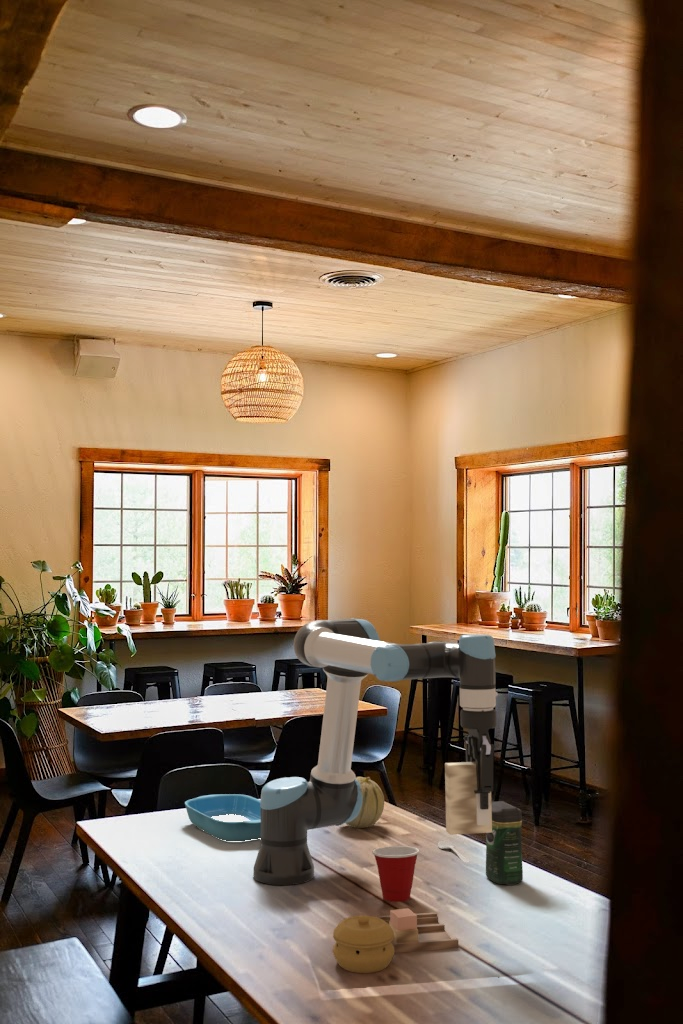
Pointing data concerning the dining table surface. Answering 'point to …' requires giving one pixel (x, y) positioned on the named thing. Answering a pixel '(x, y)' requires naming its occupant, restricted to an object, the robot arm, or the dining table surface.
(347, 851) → the dining table surface
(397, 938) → the offcut oak
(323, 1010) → the dining table surface
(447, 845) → the spoon
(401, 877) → the plastic cup
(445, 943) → the rack
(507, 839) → the coffee jar
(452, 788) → the birch block
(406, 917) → the offcut terracotta
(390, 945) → the pot
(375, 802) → the cantaloupe
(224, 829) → the casserole dish
